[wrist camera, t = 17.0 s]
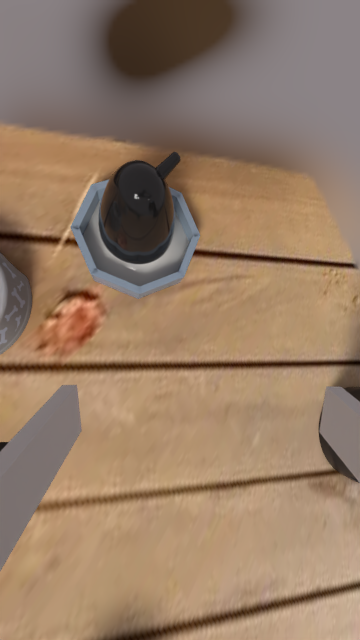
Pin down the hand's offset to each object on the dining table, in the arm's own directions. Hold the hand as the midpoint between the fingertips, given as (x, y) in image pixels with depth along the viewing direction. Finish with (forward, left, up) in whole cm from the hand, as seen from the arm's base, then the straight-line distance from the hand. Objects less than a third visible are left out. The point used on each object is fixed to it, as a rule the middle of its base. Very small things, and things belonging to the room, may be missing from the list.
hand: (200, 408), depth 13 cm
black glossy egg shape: (-5, -19, -25) cm, 32 cm away
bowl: (-6, -19, -26) cm, 32 cm away
